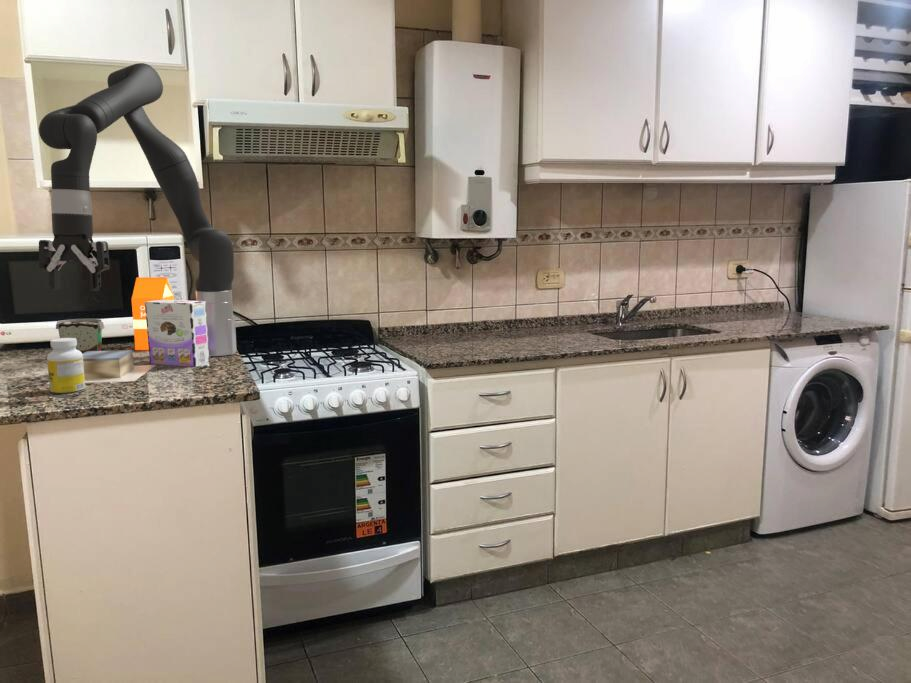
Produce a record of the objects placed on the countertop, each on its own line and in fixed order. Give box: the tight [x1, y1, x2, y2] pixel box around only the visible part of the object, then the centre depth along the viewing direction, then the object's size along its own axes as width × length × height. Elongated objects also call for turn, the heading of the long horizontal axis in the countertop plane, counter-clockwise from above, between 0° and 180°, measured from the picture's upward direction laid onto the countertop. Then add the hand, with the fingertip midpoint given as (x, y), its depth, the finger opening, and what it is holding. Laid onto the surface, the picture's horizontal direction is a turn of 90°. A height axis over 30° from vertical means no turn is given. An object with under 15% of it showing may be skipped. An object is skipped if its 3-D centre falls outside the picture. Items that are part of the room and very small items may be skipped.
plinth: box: [82, 349, 135, 379], centre depth 162 cm, size 10×10×4 cm
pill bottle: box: [46, 337, 86, 399], centre depth 146 cm, size 6×6×12 cm
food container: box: [55, 318, 105, 354], centre depth 188 cm, size 12×6×10 cm, turn 84°
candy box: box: [145, 299, 210, 370], centre depth 174 cm, size 14×6×16 cm, turn 71°
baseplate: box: [45, 364, 157, 385], centre depth 163 cm, size 18×18×1 cm
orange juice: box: [131, 276, 175, 351], centre depth 201 cm, size 8×9×20 cm
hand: (75, 290), depth 151 cm, fingers open, 8 cm apart
